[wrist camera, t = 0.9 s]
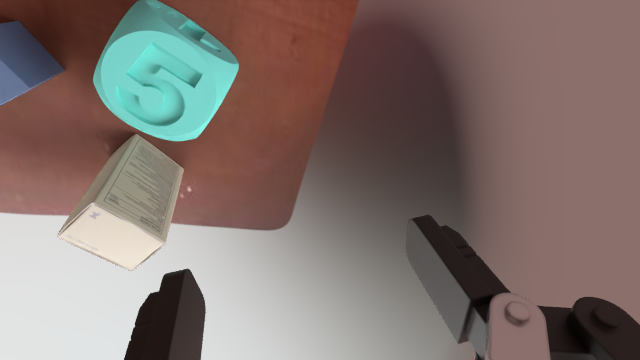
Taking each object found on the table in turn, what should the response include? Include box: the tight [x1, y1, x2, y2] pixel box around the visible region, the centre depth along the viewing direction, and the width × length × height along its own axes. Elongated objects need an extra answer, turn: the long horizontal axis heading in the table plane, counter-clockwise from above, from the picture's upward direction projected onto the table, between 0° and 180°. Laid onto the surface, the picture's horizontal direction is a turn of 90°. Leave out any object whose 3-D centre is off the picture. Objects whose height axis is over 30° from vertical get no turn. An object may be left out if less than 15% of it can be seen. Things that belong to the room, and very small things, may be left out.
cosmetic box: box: [57, 134, 184, 271], centre depth 29 cm, size 6×4×12 cm
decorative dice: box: [93, 0, 239, 141], centre depth 26 cm, size 8×8×8 cm
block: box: [0, 21, 65, 106], centre depth 24 cm, size 4×4×6 cm
